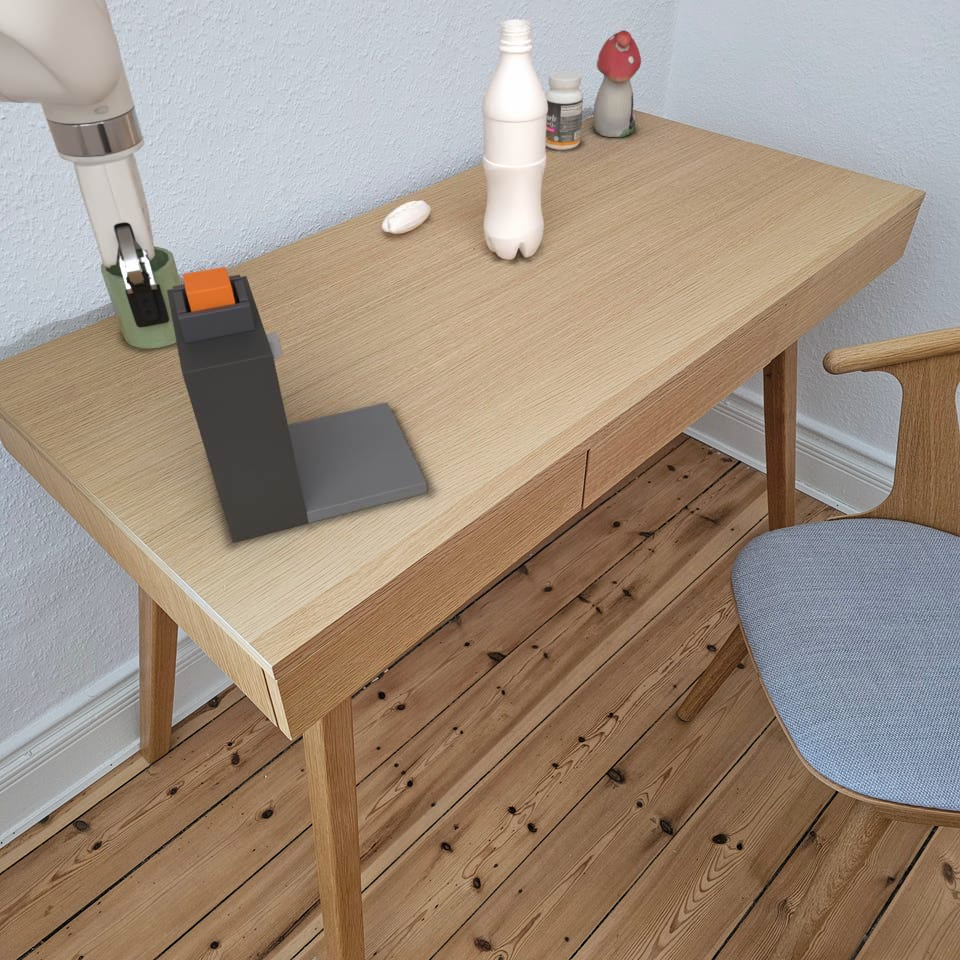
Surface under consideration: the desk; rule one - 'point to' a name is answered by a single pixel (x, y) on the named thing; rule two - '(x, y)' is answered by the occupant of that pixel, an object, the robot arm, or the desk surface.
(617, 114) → the decorative ornament
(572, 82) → the pill bottle
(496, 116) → the water bottle
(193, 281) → the button
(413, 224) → the white oval pebble
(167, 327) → the cup
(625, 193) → the desk surface
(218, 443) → the coffee maker
